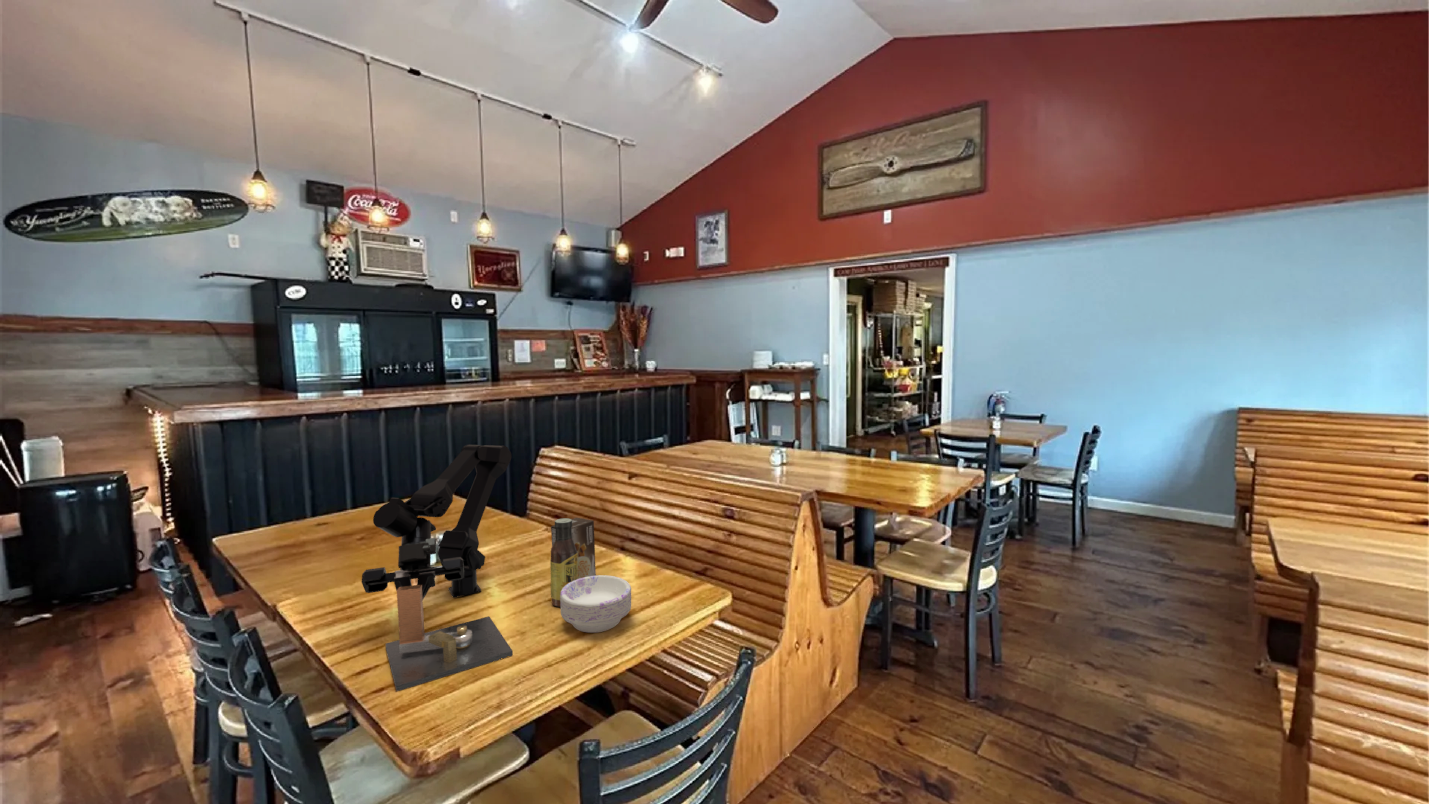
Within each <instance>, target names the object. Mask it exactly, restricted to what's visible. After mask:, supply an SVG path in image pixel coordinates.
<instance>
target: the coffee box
mask: <svg viewBox="0 0 1429 804" xmlns="http://www.w3.org/2000/svg"><path fill="white" fill-rule="evenodd" d="M570 519H571V520H572V539H573V542H574V544H575V547H576V550H577V555H578V557H577V559H578V579H580V578H584V577H588V576H597V572H596V569H597V568H596V550H595V549H596V547H595V520H593V519H586V518H580V517H574V518H570ZM550 529H551V547H552V546H553V544H554V542H555V540H556V538H555V536H556V528H555V524H553V525H551V526H550Z"/></svg>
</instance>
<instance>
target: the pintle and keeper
mask: <svg viewBox="0 0 1429 804" xmlns="http://www.w3.org/2000/svg"><path fill="white" fill-rule="evenodd" d="M466 632H467V626H465V625H462V626H459V627H457V634H459V635H462V634H465V633H466ZM428 637H429V643H431V644H434V645H436V646H439V647H441V648H442V647H443V654H444V661H446V662H449V663H450V662H452V661H454V660H455V659H457V653H456V649H463V648H466V647H468V646H469V645H470V644H469V645H467V646H463V647H456V639H455V638H453V636H452V635H449V634H446V633H444V632H441V631H439V632H437V633H435V634H433V635H430V636H428Z"/></svg>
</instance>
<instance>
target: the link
mask: <svg viewBox="0 0 1429 804" xmlns="http://www.w3.org/2000/svg"><path fill="white" fill-rule="evenodd" d="M396 600H397V601H396V603H397V618H398V620H397V621H398V637H399V639H398V640H399V641H400V644H399V649H400V654H401V653H408V652H416V651H423V650H431V649H438V648H441V647H439V646H436V645H434V644H431V643H429V637H428V636H430V635H427V636H425V634H424V633H425V620H424V619H425V617H424V602H423V601H424V599H423V597H422V585H415V584H414V585H412V586H404V587H399V588H398V590H397V591H396ZM446 634H449V635H452V636H453V638H455V639H456V647H463V646H467V645H469V644H470V643H471V642H472V631H471V630H468V629H467V632H466V633H465V634H462V635H459V634H457V632H451V633H446ZM442 648H443V647H442Z"/></svg>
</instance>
